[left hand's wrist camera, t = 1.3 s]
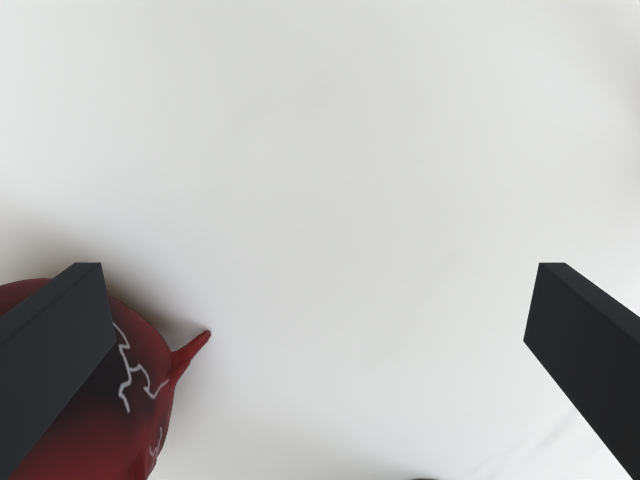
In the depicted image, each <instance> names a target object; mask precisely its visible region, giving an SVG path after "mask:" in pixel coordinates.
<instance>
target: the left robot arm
mask: <svg viewBox="0 0 640 480" xmlns="http://www.w3.org/2000/svg"><path fill="white" fill-rule="evenodd" d="M116 341H117V340H116V335H115V330H114V325H113V320H112V315H111V310H110V305H109V301H108V296H107V291H106V286H105V281H104V276H103V271H102V266H101V263H74V264H73V265H71V266H70V267H69V268H67V269H66V270H64V271H63V272H62V273H60V274H59V275H58V276H56V277H55V278H53V279H52V280H51V281H49V282H48V283H47V284H45V285H44V286H43V287H41V288H40V289H38V290H37V291H36V292H34V293H33V294H32V295H30V296H29V297H27V298H26V299H25V300H23V301H22V302H21V303H19V304H18V305H16V306H15V307H14V308H12V309H11V310H10V311H8V312H7V313H6V314H4V315H3V316H1V317H0V480H7V479H8V478H9V476H10V475H11V474H12V473H13V471H14V470H15V469H16V468H17V466H18V465H19V464H20V463H21V461H22V460H23V459H24V458H25V456H26V455H27V454H28V452H29V451H30V450H31V449H32V447H33V446H34V445H35V444H36V442H37V441H38V440H39V439H40V437H41V436H42V435H43V434H44V432H45V431H46V430H47V428H48V427H49V426H50V425H51V423H52V422H53V421H54V420H55V418H56V417H57V416H58V415H59V413H60V412H61V411H62V409H63V408H64V407H65V406H66V404H67V403H68V402H69V401H70V399H71V398H72V397H73V396H74V394H75V393H76V392H77V391H78V389H79V388H80V387H81V385H82V384H83V383H84V382H85V380H86V379H87V378H88V377H89V375H90V374H91V373H92V372H93V370H94V369H95V368H96V367H97V365H98V364H99V363H100V361H101V360H102V359H103V358H104V356H105V355H106V354H107V353H108V351H109V350H110V349H111V348H112V346H113V345H114V344H115V342H116ZM523 341H524V342H525V344H526V345H527V346H528V348H529V349H530V350H531V351H532V353H533V354H534V355H535V356H536V358H537V359H538V360H539V361H540V363H541V364H542V365H543V367H544V368H545V369H546V370H547V372H548V373H549V374H550V375H551V377H552V378H553V379H554V380H555V382H556V383H557V384H558V385H559V387H560V388H561V389H562V391H563V392H564V393H565V394H566V396H567V397H568V398H569V399H570V401H571V402H572V403H573V404H574V406H575V407H576V408H577V409H578V411H579V412H580V413H581V415H582V416H583V417H584V418H585V420H586V421H587V422H588V423H589V425H590V426H591V427H592V428H593V430H594V431H595V432H596V434H597V435H598V436H599V437H600V439H601V440H602V441H603V442H604V444H605V445H606V446H607V447H608V449H609V450H610V451H611V452H612V454H613V455H614V456H615V458H616V459H617V460H618V461H619V463H620V464H621V465H622V466H623V468H624V469H625V470H626V471H627V473H628V474H629V475H630V476H631V478H632V479H633V480H640V317H639V316H637V315H636V314H634V313H633V312H632V311H630V310H629V309H628V308H626V307H625V306H624V305H622V304H621V303H619V302H618V301H617V300H615V299H614V298H613V297H611V296H610V295H608V294H607V293H606V292H604V291H603V290H602V289H600V288H599V287H597V286H596V285H595V284H593V283H592V282H591V281H589V280H588V279H587V278H585V277H584V276H582V275H581V274H580V273H578V272H577V271H576V270H574V269H573V268H571V267H570V266H569V265H567V264H566V263H539V266H538V271H537V276H536V281H535V286H534V291H533V296H532V301H531V305H530V310H529V315H528V320H527V325H526V330H525V335H524V340H523Z"/></svg>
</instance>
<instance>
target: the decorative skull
mask: <svg viewBox="0 0 640 480" xmlns="http://www.w3.org/2000/svg"><path fill="white" fill-rule="evenodd" d="M51 280H52V279H50V278H40V279H29V280H22V281H17V282H13V283H8V284H5V285H1V286H0V317H1V316H3V315H4V314H6V313H7V312H8V311H10V310H11V309H12V308H14V307H15V306H16V305H18V304H19V303H21V302H22V301H23V300H25V299H26V298H27V297H29V296H30V295H32V294H33V293H34V292H36V291H37V290H38V289H40V288H41V287H43V286H44V285H45V284H47V283H48V282H49V281H51ZM107 296H108V295H107ZM108 301H109V305H110V310H111V315H112V320H113V325H114V330H115V335H116V340H117V341H116V342H115V344H114V345H113V346H112V348H111V349H110V350H109V351H108V353H107V354H106V355H105V356H104V358H103V359H102V360H101V361H100V363H99V364H98V365H97V367H96V368H95V369H94V370H93V372H92V373H91V374H90V375H89V377H88V378H87V379H86V380H85V382H84V383H83V384H82V385H81V387H80V388H79V389H78V391H77V392H76V393H75V394H74V396H73V397H72V398H71V399H70V401H69V402H68V403H67V404H66V406H65V407H64V408H63V409H62V411H61V412H60V413H59V415H58V416H57V417H56V418H55V420H54V421H53V422H52V423H51V425H50V426H49V427H48V428H47V430H46V431H45V432H44V434H43V435H42V436H41V437H40V439H39V440H38V441H37V442H36V444H35V445H34V446H33V447H32V449H31V450H30V451H29V452H28V454H27V455H26V456H25V458H24V459H23V460H22V461H21V463H20V464H19V465H18V466H17V468H16V469H15V470H14V471H13V473H12V474H11V475H10V476H9V478H8V479H7V480H147V478H148V476H149V475H150V473H151V472H152V470H153V469H154V467H155V465H156V460H157V457H158V455H159V453H160V452H161V450H162V448H163V445H164V442H165V438H166V435H167V431H168V426H169V420H170V416H171V411H172V405H173V397H174V390H175V386H176V383H177V381H178V380H179V378H180V377H181V376H182V374H183V373H184V371H185V370H186V368H187V367H188V366H189V364H190V361H191V360H192V358H193V357H194V356H195V355H196V353H197V352H198V351H199V350H200V349H201V348H202V347H203V346H204V344H205V343H206V342H207V341H208V339H209V337H210V336H211V333H210V332H209V331H205V332H204V333H202V334H200V335H199V336H197V337H196V338H194V339H193V340H192V341H191V342H189V343H188V344H187V345H185V346H184V347H182V348H180V349H179V350H177V351H175V352H171V351H170V349H169V347H168V346H167V344H166V342H165V341H164V339H163V338H162V336H161V335H160V334H159V332H158V331H157V330H156V329H155V328H154V327H153V326H152V325H150V324H149V323H148V322H147V321H146V320H144V319H143V318H142V317H141V316H140V315H138V314H137V313H136V312H135V311H133V310H132V309H130V308H129V307H127V306H126V305H124V304H123V303H121V302H119V301H117V300H116V299H114V298H112V297H110V296H108Z"/></svg>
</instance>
